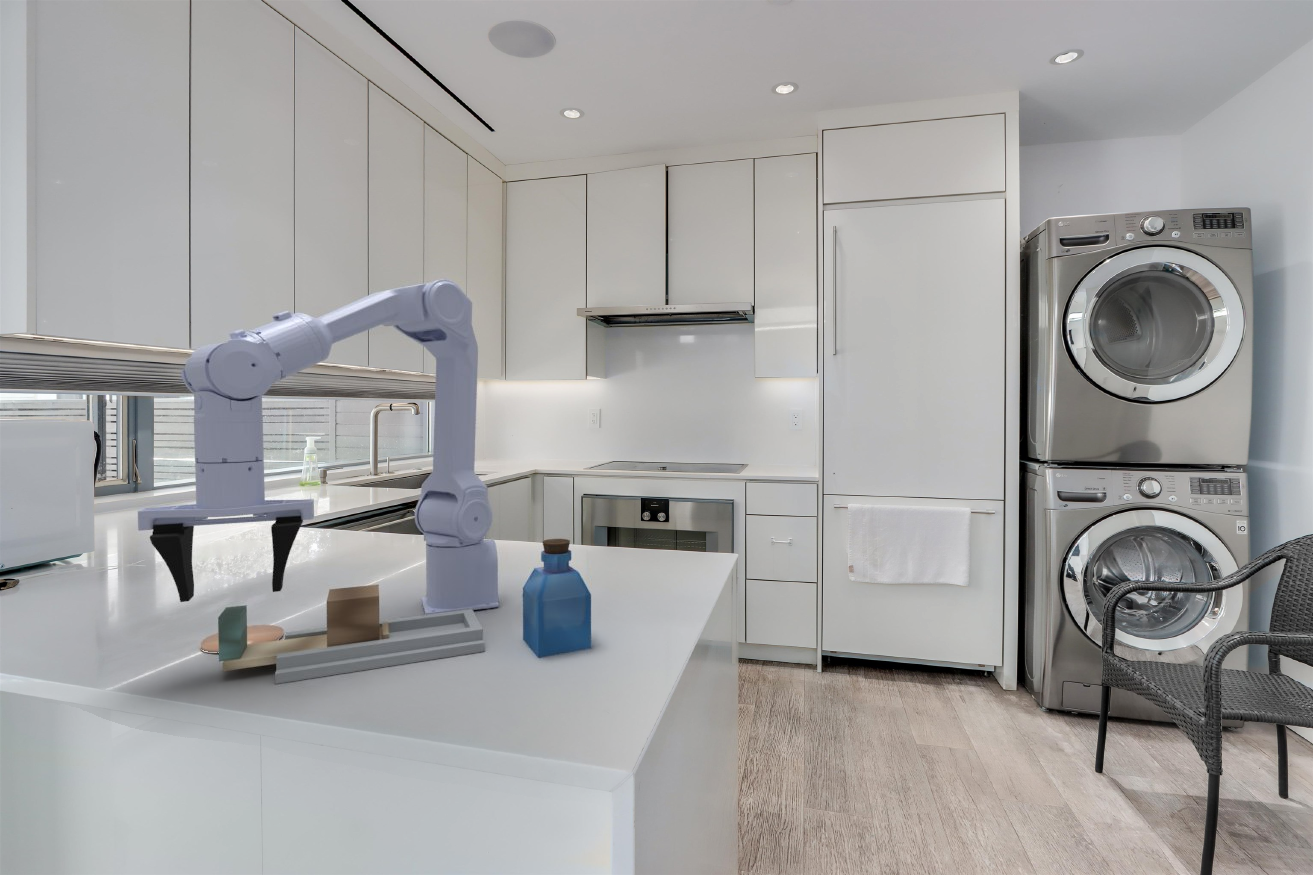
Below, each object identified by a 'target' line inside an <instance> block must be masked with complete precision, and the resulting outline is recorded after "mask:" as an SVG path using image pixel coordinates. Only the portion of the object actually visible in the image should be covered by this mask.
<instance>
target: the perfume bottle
mask: <svg viewBox="0 0 1313 875" xmlns="http://www.w3.org/2000/svg"><path fill="white" fill-rule="evenodd" d="M570 544H571V540H570V539H566V538H550V539H544V540H543V541H542V546H543V550H542V551H541V552H540V561H541V562H542V563H543V566H541V567H534V568H533V570H532V572H531V573H530V575H529V577H528V579H527V580H526V581H525V582H524V583H525V584H524V585H523V587H522V641H524V643H525V644H526V646H528V648H529V649H530V650H531V652H532V653H533V654H534V655H535V656H536V657H537V659H539V658H544V657H545V658H546V657H550V656H556V655H562V654H568V653H572V652H578V651H583V650H589V649H592V594H591V591H589V588H588V586H587V584H586V583H585V581H584V579H583V577H582V575H581V574H580V572H579V571H578V570H576V569H575V568H574V567H572V566H570V562H571V561H572V550H570V549H569V548H570Z"/></svg>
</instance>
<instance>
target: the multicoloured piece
mask: <svg viewBox="0 0 1313 875" xmlns="http://www.w3.org/2000/svg"><path fill="white" fill-rule="evenodd" d="M247 611H248V609H247V605H245V604H244V605H236V606H227V607H226V606H225V608H224V609H223V611H222V612H221V613H220V615H219V616H218V617H217V621H218V624H217V628H218V630H217V631H218V632H217V633H218V638H219V654H218V662H222V663H221V664H222V672H227V671H233V670H241V669H247V668H254V667H262V666H269V665H276V657H277V655H278V654H281V653H288V652H295V651H303V650H310V649H317V648H324V647H327V634H325V635H318V636H310V637H302V638H295V639H287V640H285V639H280V640H278V641H271V642H264V643H256V644H248V645H247V626H248V614H247V613H248V612H247ZM379 630H380V640H382V639H389V631H388V622H382V627H379Z"/></svg>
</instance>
